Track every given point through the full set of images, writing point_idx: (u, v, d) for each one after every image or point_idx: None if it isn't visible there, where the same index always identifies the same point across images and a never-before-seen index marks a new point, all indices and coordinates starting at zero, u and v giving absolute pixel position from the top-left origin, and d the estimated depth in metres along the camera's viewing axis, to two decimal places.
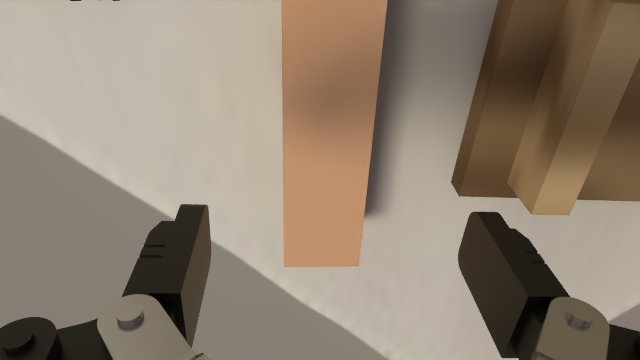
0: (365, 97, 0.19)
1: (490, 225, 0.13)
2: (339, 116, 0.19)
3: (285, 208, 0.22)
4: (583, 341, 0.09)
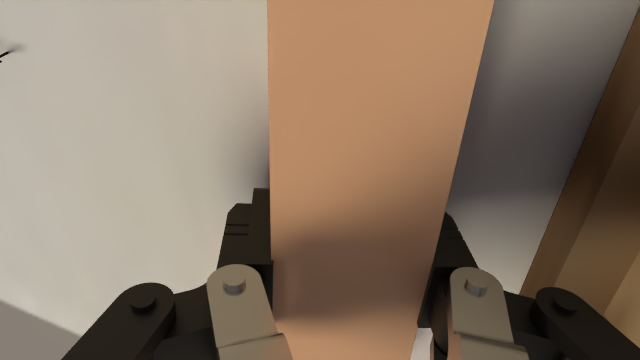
0: (416, 246, 0.11)
1: None
2: (369, 272, 0.11)
3: None
4: (474, 305, 0.10)
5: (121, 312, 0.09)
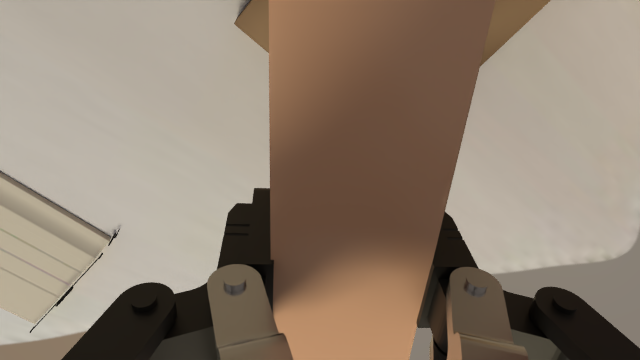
0: (415, 248, 0.11)
1: None
2: (368, 274, 0.11)
3: None
4: (474, 305, 0.10)
5: (121, 312, 0.09)
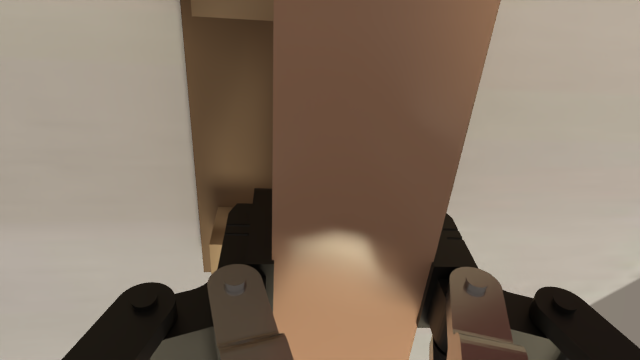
0: (416, 248, 0.11)
1: None
2: (369, 274, 0.11)
3: None
4: (474, 305, 0.10)
5: (122, 312, 0.09)
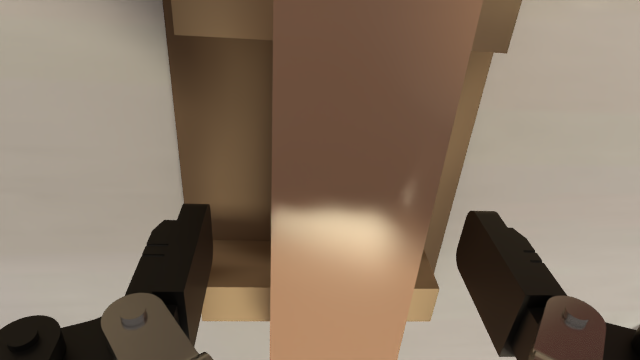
0: (408, 230, 0.11)
1: (488, 224, 0.13)
2: (363, 255, 0.12)
3: None
4: (579, 339, 0.09)
5: None
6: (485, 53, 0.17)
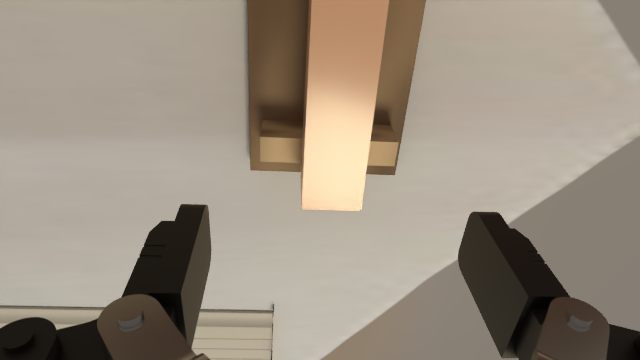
0: (370, 70, 0.25)
1: (490, 225, 0.13)
2: (350, 84, 0.25)
3: (305, 159, 0.28)
4: (583, 341, 0.09)
5: None
6: (421, 1, 0.30)
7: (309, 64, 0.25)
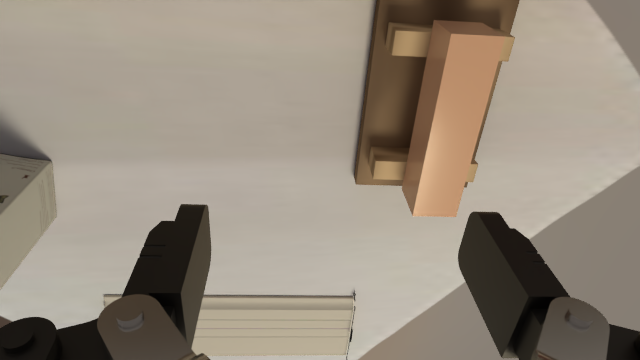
0: (476, 119, 0.35)
1: (490, 225, 0.13)
2: (461, 128, 0.36)
3: (421, 179, 0.38)
4: (583, 341, 0.09)
5: None
6: (499, 61, 0.41)
7: (434, 115, 0.35)
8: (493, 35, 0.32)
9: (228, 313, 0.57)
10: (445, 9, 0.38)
